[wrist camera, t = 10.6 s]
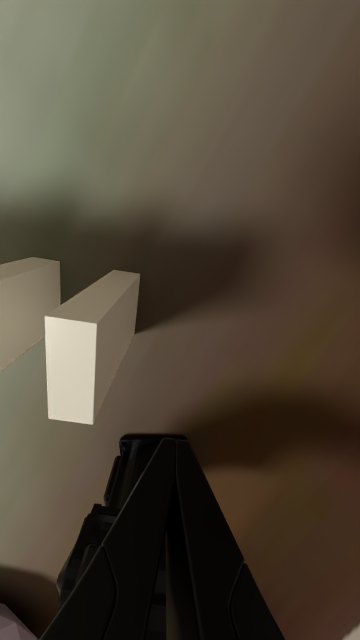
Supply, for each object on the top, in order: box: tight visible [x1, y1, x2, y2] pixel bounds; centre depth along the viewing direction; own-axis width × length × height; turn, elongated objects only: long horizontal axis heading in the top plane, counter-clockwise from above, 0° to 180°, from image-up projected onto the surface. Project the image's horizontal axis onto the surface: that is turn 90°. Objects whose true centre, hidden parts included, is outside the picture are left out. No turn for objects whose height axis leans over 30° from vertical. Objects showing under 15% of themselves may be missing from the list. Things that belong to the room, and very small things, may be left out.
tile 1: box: [45, 270, 140, 425], centre depth 15 cm, size 2×5×10 cm, turn 171°
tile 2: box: [0, 257, 61, 372], centre depth 15 cm, size 2×5×10 cm, turn 171°
